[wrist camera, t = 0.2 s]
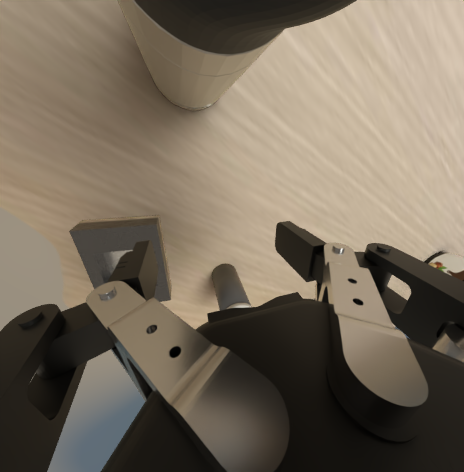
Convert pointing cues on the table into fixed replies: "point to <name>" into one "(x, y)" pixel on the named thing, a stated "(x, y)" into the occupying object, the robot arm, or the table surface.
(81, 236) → the dark rectangular frame
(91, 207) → the table surface
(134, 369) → the robot arm
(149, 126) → the table surface
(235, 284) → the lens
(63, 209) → the table surface
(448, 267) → the spread jar
